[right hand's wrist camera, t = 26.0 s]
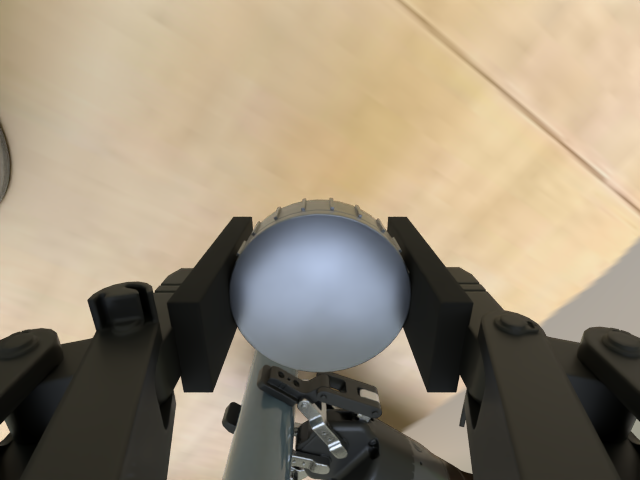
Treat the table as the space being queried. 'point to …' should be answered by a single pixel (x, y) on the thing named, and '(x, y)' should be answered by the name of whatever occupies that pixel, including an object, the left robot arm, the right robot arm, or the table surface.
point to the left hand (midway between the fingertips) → (243, 394)
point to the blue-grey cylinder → (262, 432)
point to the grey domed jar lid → (320, 287)
